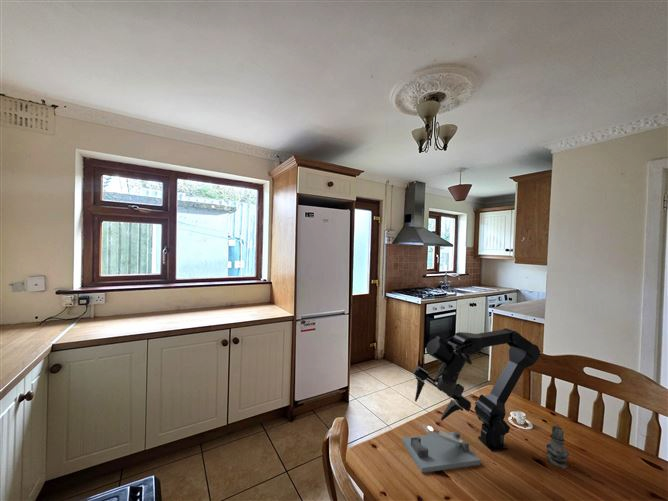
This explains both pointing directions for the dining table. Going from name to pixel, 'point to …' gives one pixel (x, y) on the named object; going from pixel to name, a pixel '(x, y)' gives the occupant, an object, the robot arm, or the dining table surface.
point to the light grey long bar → (443, 434)
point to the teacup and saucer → (519, 419)
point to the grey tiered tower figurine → (557, 448)
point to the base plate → (439, 453)
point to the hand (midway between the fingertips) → (428, 410)
